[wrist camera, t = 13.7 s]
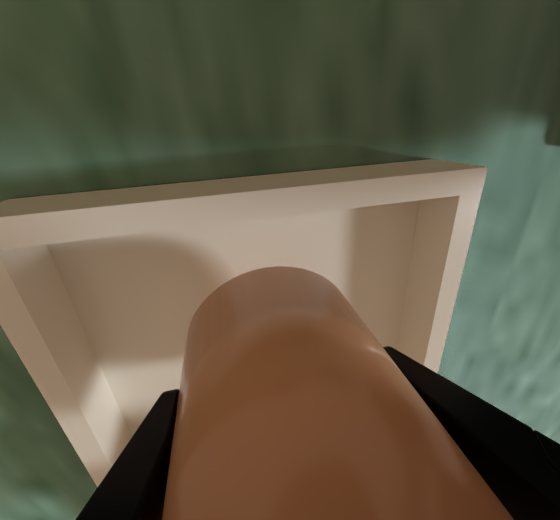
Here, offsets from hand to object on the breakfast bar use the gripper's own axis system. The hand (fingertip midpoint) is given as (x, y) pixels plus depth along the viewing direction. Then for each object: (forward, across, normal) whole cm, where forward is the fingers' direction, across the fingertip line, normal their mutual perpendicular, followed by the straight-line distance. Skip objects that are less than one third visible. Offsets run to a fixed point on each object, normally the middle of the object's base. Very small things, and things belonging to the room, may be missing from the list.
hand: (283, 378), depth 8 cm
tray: (+5, 0, +4) cm, 6 cm away
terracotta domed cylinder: (+2, 0, 0) cm, 2 cm away
